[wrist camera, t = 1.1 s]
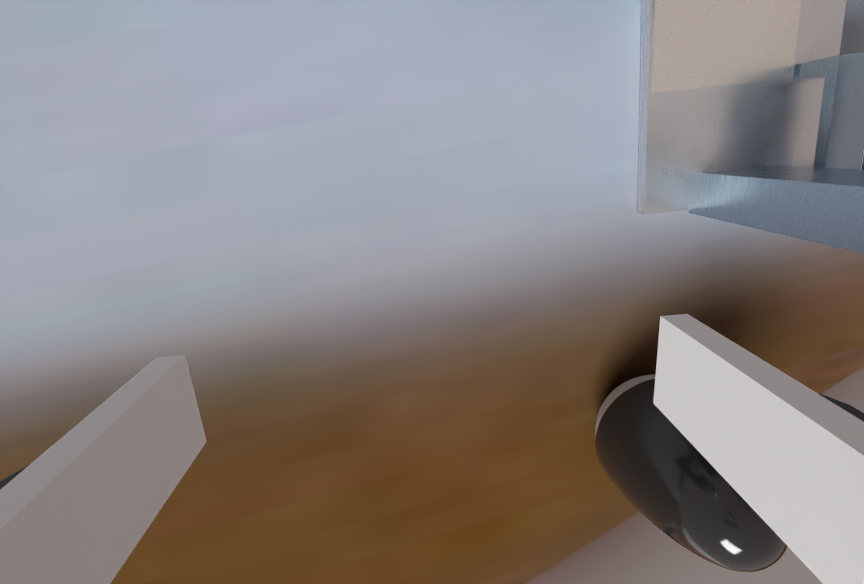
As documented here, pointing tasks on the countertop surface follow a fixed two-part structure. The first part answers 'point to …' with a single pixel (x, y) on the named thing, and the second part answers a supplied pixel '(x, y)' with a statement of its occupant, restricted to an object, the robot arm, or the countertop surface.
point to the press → (753, 116)
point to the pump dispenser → (678, 483)
